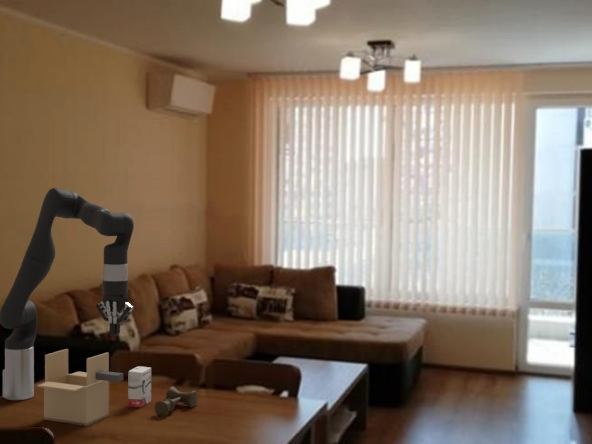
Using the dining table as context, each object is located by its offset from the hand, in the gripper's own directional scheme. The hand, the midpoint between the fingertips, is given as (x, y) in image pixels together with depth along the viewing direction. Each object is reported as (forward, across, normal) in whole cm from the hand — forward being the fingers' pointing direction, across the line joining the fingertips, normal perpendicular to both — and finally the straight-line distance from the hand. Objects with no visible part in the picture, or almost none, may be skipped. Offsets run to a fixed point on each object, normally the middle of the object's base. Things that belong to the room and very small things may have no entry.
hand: (114, 335), depth 221 cm
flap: (+11, -6, 0) cm, 12 cm away
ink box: (+27, -5, +21) cm, 35 cm away
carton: (+27, -14, 0) cm, 30 cm away
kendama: (+27, +9, +22) cm, 36 cm away
